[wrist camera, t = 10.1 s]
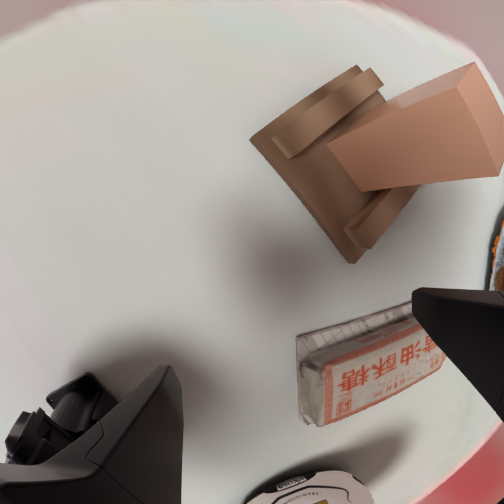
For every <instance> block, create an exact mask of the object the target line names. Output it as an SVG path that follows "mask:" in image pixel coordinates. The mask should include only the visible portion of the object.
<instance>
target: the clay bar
mask: <svg viewBox="0 0 504 504" xmlns="http://www.w3.org/2000/svg"><path fill="white" fill-rule="evenodd" d="M326 145H327V146H328V148H329V149H330V150H331V152H332V153H333V154H334V155H335V157H336V158H337V159H338V161H339V162H340V163H341V165H342V166H343V167H344V169H345V170H346V171H347V173H348V174H349V175H350V177H351V178H352V180H353V181H354V182H355V184H356V185H357V187H358V188H359V189H360V191H361V192H366V191H373V190H380V189H387V188H394V187H402V186H409V185H417V184H425V183H434V182H443V181H452V180H461V179H472V178H482V177H494V176H499V174H500V171H501V168H502V165H503V162H504V116H503V113H502V111H501V109H500V107H499V105H498V103H497V101H496V99H495V97H494V95H493V93H492V91H491V89H490V87H489V85H488V84H487V82H486V80H485V78H484V76H483V75H482V73H481V71H480V70H479V68H478V66H477V65H476V63H475V62H473V63H470V64H468V65H465V66H463V67H460V68H458V69H455V70H453V71H451V72H448V73H446V74H444V75H441V76H439V77H437V78H435V79H432V80H430V81H428V82H426V83H423V84H421V85H419V86H417V87H415V88H413V89H411V90H409V91H406V92H404V93H402V94H400V95H398V96H396V97H394V98H392V99H390V100H388V101H386V102H384V103H382V104H380V105H378V106H376V107H374V108H372V109H370V110H368V111H367V112H365V113H363V114H361V115H359V116H358V117H357V118H355V119H354V120H353V121H352V122H351V123H350V124H348V125H347V126H346V127H345V128H344V129H343V130H341V131H340V132H339V133H338V134H337V135H336V136H334V137H333V138H332V139H331V140H330V141H329V142H328V143H326Z"/></svg>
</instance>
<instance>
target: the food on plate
mask: <svg viewBox="0 0 504 504" xmlns="http://www.w3.org/2000/svg"><path fill="white" fill-rule="evenodd" d="M494 244H495V247H493V249H492V252H493V253H494V257H495V258H494V260H493V262H492V271H493V273H492V274H491V279H490V287H489V290H490V291H492V288H493V291H504V220H503V223H502V225H501V232H500V236H497V237H496V240H495V243H494Z"/></svg>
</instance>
